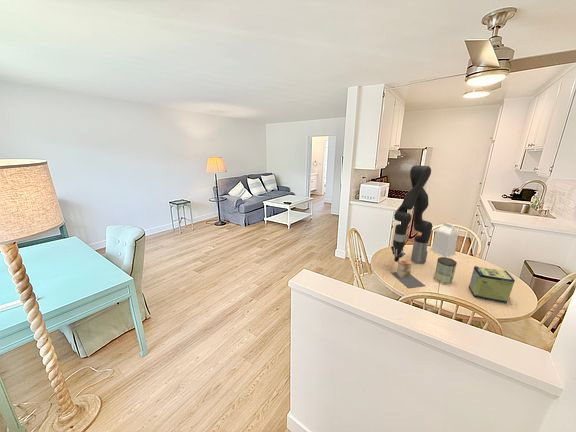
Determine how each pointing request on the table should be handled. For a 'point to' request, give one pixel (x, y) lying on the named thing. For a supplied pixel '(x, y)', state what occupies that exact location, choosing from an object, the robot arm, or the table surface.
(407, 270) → the block
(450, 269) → the coffee can
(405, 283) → the mat
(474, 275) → the protein box
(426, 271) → the table surface
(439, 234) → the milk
